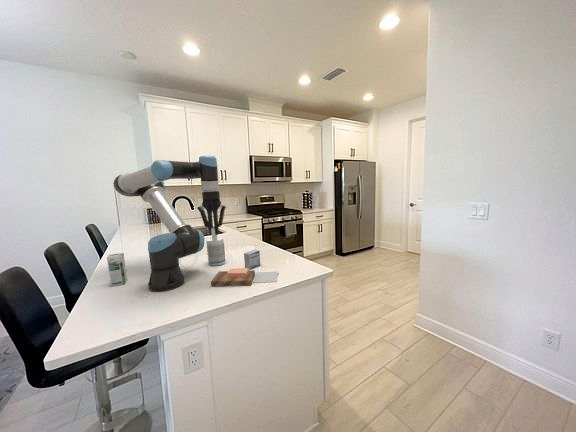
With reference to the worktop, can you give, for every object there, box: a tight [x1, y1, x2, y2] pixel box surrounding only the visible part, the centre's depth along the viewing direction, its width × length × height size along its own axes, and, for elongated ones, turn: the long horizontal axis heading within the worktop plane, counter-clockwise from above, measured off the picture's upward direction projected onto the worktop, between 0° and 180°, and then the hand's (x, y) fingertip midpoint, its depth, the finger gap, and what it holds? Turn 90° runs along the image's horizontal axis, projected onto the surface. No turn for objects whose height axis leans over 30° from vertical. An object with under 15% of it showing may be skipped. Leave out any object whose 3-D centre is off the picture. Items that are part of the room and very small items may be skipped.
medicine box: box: [243, 249, 261, 271], centre depth 129 cm, size 8×4×9 cm, turn 143°
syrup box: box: [106, 252, 128, 287], centre depth 112 cm, size 6×6×14 cm
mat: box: [252, 271, 279, 284], centre depth 114 cm, size 11×12×1 cm
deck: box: [210, 269, 256, 288], centre depth 111 cm, size 18×12×2 cm, turn 89°
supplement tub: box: [206, 236, 226, 267], centre depth 135 cm, size 10×10×15 cm
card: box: [227, 267, 250, 278], centre depth 112 cm, size 9×6×2 cm, turn 89°
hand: (214, 241), depth 110 cm, fingers closed
